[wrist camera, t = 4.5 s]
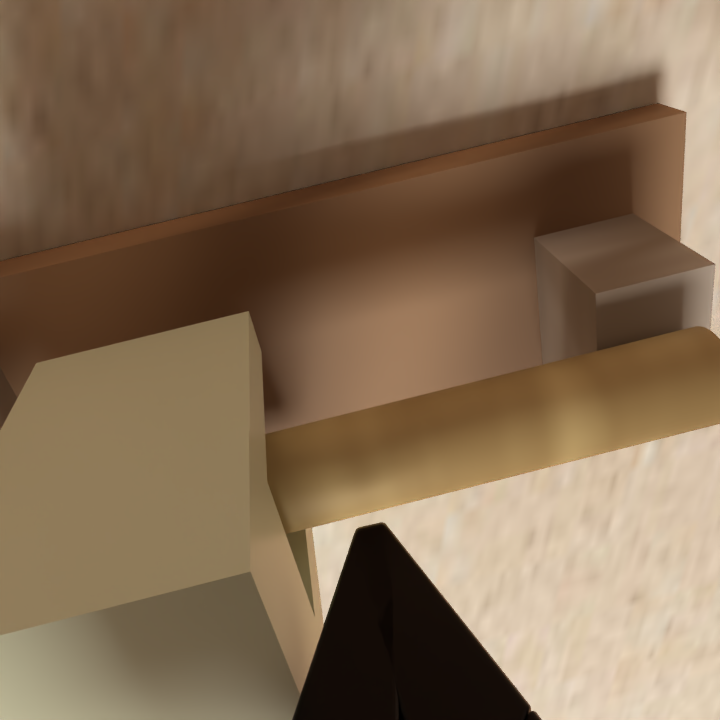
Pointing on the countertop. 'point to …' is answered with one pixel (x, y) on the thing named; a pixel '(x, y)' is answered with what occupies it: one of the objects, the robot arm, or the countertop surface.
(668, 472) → the countertop surface
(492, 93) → the countertop surface
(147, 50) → the countertop surface
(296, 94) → the countertop surface
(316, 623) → the cream block
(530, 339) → the cable stand
